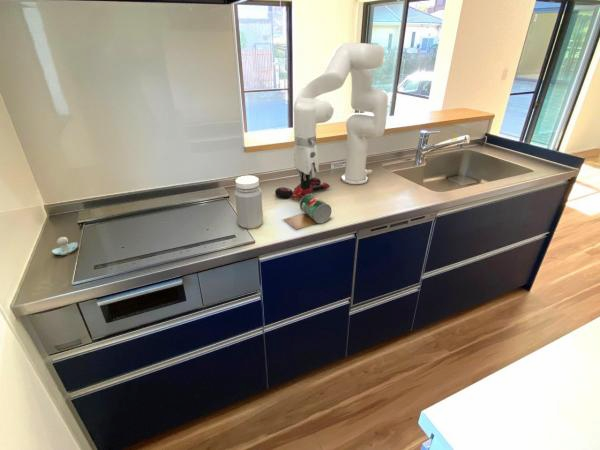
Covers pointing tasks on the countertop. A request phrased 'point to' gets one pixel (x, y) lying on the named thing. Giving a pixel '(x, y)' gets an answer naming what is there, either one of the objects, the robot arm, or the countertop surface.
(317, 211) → the canned tomato
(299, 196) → the toy motorcycle
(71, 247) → the pacifier
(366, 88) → the robot arm
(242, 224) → the jar
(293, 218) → the mat
